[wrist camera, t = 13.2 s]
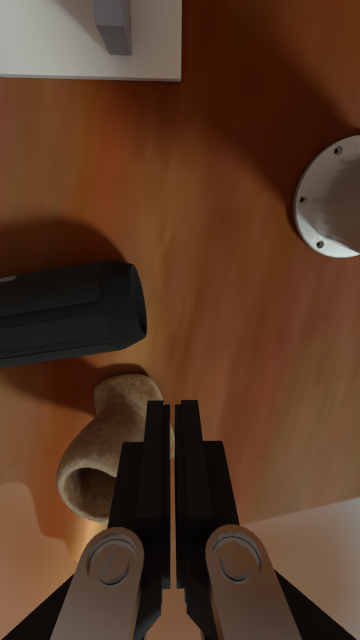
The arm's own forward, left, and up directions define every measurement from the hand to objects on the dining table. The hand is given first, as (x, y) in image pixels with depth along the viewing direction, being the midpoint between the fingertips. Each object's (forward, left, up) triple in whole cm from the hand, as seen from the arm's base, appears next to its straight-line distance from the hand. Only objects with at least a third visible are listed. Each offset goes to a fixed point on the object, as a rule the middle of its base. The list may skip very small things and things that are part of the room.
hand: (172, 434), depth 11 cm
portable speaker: (+16, +6, -30) cm, 34 cm away
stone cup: (+6, +24, -29) cm, 38 cm away
